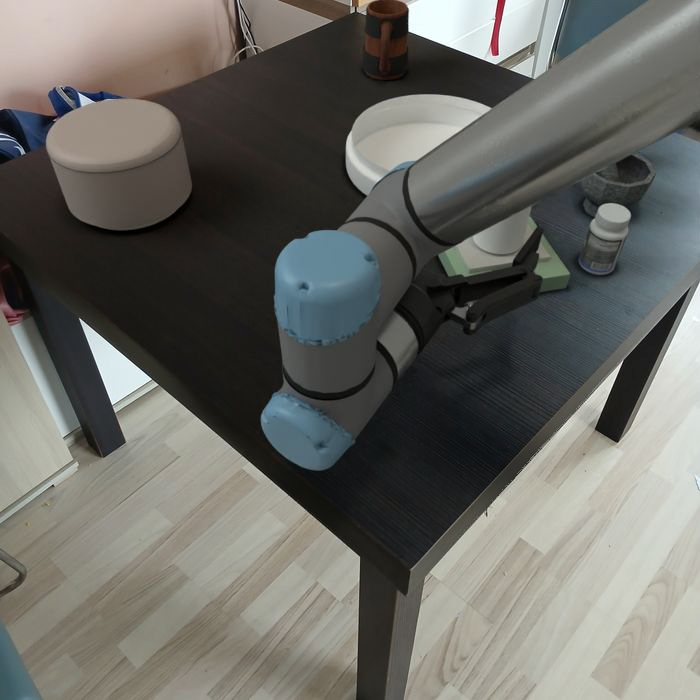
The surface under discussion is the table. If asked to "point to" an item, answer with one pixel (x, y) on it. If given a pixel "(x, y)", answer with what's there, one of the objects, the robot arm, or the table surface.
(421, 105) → the white round shallow dish
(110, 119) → the container
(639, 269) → the table surface
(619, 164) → the mortar and pestle
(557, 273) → the kitchen scale
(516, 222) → the can
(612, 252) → the pill bottle
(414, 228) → the robot arm
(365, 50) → the mug
